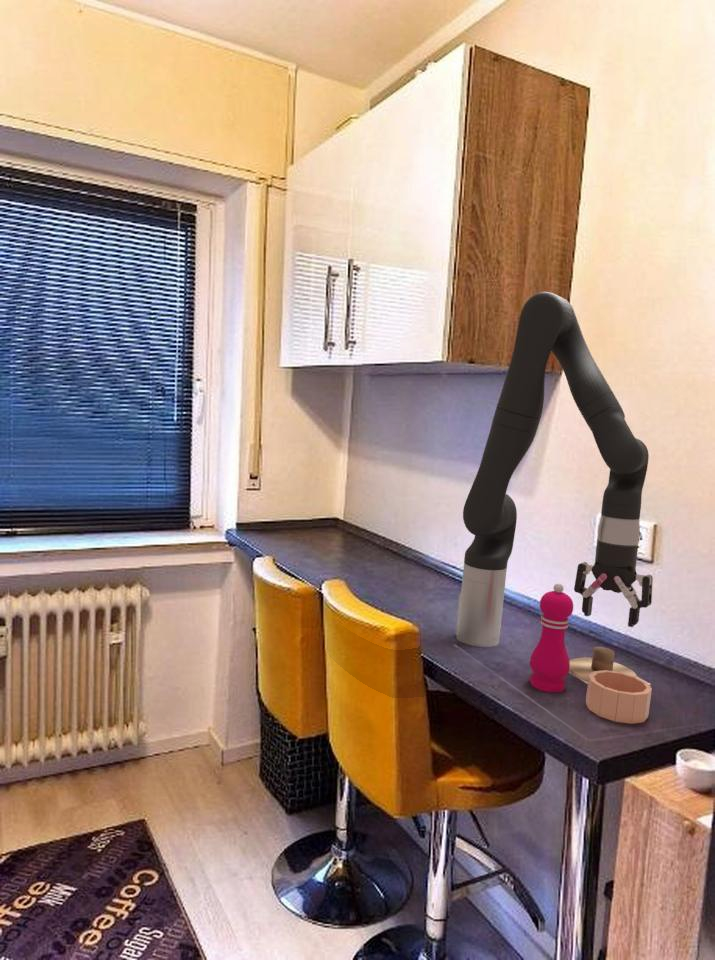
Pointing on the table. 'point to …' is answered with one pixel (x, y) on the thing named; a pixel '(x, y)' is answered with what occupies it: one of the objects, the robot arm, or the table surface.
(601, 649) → the lid
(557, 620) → the pepper mill
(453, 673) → the table surface
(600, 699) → the bowl
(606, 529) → the robot arm
